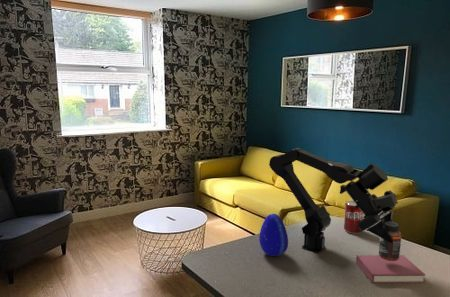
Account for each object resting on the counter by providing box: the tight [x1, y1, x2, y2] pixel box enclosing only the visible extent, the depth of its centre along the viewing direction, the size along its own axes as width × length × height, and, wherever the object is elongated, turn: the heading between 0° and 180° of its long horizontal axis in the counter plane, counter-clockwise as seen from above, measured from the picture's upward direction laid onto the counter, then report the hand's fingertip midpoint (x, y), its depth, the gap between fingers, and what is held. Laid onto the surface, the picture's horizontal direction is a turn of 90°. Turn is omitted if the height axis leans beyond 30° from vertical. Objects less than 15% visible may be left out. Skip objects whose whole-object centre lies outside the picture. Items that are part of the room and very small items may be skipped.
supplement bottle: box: [378, 221, 402, 261], centre depth 105 cm, size 6×6×11 cm
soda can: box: [343, 200, 365, 235], centre depth 138 cm, size 7×7×12 cm
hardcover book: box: [355, 254, 426, 284], centre depth 106 cm, size 16×12×3 cm
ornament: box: [258, 213, 289, 257], centre depth 118 cm, size 11×9×15 cm
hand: (395, 239), depth 104 cm, fingers closed on supplement bottle, 6 cm apart
